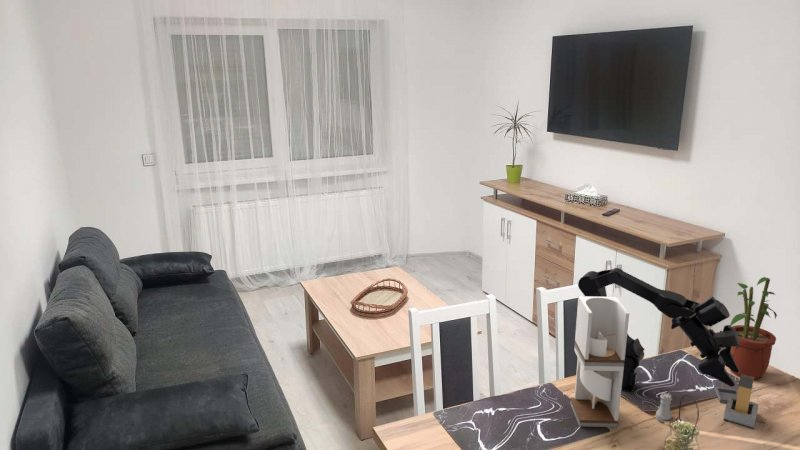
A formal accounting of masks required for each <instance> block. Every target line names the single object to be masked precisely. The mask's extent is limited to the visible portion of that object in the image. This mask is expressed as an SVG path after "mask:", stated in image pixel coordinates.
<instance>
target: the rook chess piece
mask: <svg viewBox="0 0 800 450" xmlns="http://www.w3.org/2000/svg"><path fill="white" fill-rule="evenodd" d="M659 399H660V401H659V402H660V406H659V408H658V409H657V410H656V412H655V415H654V417H655V419H656V420H657V422H661V423H663V424H664V423H665V421H669V420H671V419H672V418H673V414H672V412H671V405H672V403H671V401H673V397H672V394H671V393H669V392H668V393H667V392H666V391H665V392H662V393H661V394H660V395H659Z"/></svg>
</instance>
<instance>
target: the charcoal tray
mask: <svg viewBox="0 0 800 450" xmlns="http://www.w3.org/2000/svg"><path fill="white" fill-rule="evenodd" d="M714 391H715V394H716V396H717V398H718V401H719V403H723V404H727V402H728V399H729V396H732V397H735V398H737V394H738V389H731V388H725V387H716V386H715V388H714Z"/></svg>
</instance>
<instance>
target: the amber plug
mask: <svg viewBox="0 0 800 450" xmlns="http://www.w3.org/2000/svg"><path fill="white" fill-rule="evenodd" d="M754 380H755V379H754V377H752V376H748V375H744V374H741V377H739V381H738V388H737V391H738V394H737V400H736V406H735V410H737V411H740V412H743V413H747V414H748V408H749V402H751V395H752V389H753V385H754Z"/></svg>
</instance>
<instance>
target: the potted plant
mask: <svg viewBox="0 0 800 450" xmlns="http://www.w3.org/2000/svg"><path fill="white" fill-rule="evenodd" d="M770 281H771V279H770V278H769V277H765V276H763V277H761V278H759V279H758V281H757V283H756V286H759V285H760V284H762V283H764V282H765V283H764V285H763V286H764V287H763V290H761V292H762V293H761V298H760V303H759V307H758V312H757V315H756V319H754V318H753V317H755V315H754V314H752V310H753V309H752V307H753V306H754V305H755V304H756V303H755V301H754V300H753V299H754V287H753V286H750V287H749V286H748V285H747V284H745V283H741V282H740V283H739V282H737V283H736V284H737V285H738V286H739V287H740V288H741V289H743V290H742V291H738V292H737V297H738V296H742V298H743V305H744V307H743V308H744V312H742V313H741V312H740V313H738V314H735V316H733V318H732V319H731V322H730V324H729V325H730V326H731V327H732V328H733V329H736V331H738V337H739V339H740V341H739V345H738V346H735V347H731V354H732V356H733V359H734V361H735V363H736V365H737V367H738V369H739V372H737V373H735V372H734V371H732V370H731V369H729V370H730V372H732V373H733V374H734V375H735V376H737V377H739V378H740V377H741V374H744V375H748V376H752V377H754V380H759V379H760V378H761V377H762V376H764V375H765V374H766V372H767V370H768V367H769V364H770V362H771V361H770V360H771V355H772V350H773V346H774V345H775V344H776V342H777V338H776V336H775V335H774V334H773V333H771V332H770V331H768V330H766V329H764V328H761V326H762V323H763V320H764V317H765V316H768V317H769V318H772V317H771V316H770V312H769V311H768V310H770V311H772V313H773V315H774V319H776V318H777V316H778V314H777V312H776V311H774V310H773V309H772V308H770V307H769V306H770V304H769V303H767V302H769V301H771V300H769V299H768V300H766V298H768V296H769V294H770V295H775V296H776V293H775V292H772V291H768V289H769V285H770V283H771V282H770ZM747 288H749V292H748V293H749V294H747ZM743 319H744V325H743V324H741V325H740V324H737V323H739V321H742V320H743ZM755 320H756V321H755ZM751 321H753V322H754V325H752V326H751V325H750V323H751ZM735 324H737V325H735Z"/></svg>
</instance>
